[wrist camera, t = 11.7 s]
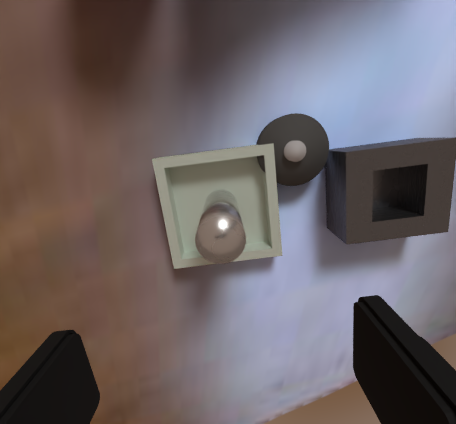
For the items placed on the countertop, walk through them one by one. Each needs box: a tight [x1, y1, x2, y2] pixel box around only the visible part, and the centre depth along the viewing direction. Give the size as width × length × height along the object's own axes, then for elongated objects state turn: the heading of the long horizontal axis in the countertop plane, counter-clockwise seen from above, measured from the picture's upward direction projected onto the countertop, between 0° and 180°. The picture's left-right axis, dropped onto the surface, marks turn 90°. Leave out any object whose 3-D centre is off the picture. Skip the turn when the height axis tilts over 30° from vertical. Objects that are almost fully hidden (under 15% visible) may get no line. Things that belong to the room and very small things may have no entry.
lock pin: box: [195, 190, 246, 264], centre depth 24 cm, size 4×4×11 cm
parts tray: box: [152, 143, 282, 269], centre depth 28 cm, size 12×12×3 cm
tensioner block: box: [325, 138, 456, 244], centre depth 27 cm, size 10×9×5 cm
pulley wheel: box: [256, 114, 329, 186], centre depth 27 cm, size 7×7×3 cm
